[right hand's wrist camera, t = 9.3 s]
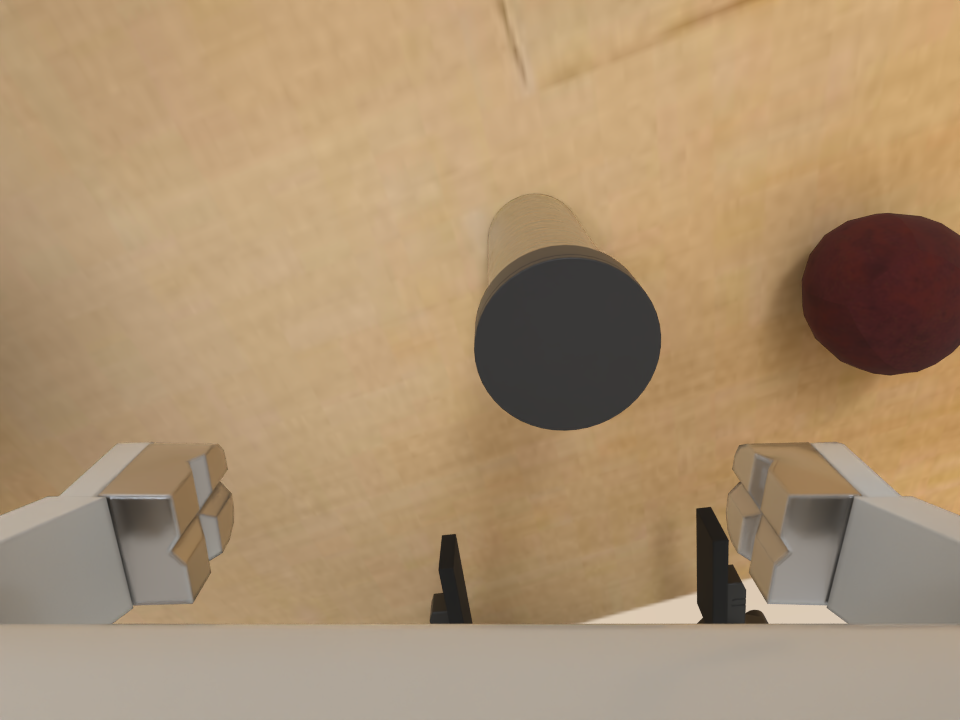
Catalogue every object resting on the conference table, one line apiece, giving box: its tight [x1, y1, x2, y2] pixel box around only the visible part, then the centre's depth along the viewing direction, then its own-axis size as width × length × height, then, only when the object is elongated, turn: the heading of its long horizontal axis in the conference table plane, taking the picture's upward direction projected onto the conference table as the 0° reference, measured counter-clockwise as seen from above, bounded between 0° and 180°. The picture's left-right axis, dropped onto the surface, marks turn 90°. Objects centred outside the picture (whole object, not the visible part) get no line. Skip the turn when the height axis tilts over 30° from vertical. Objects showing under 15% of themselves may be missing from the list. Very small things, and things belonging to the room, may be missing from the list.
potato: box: [802, 213, 960, 375], centre depth 30 cm, size 7×8×7 cm
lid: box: [474, 245, 661, 430], centre depth 20 cm, size 6×6×2 cm
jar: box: [488, 194, 598, 286], centre depth 27 cm, size 5×5×15 cm
